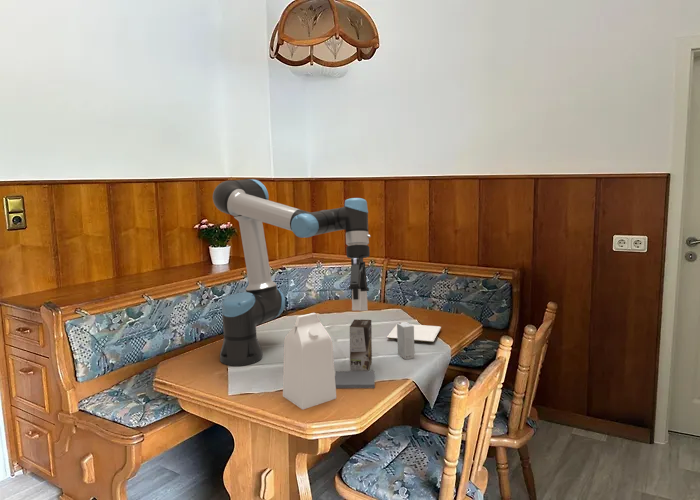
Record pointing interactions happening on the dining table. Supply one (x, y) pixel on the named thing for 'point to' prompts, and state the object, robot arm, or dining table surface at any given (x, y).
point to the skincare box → (405, 340)
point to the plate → (419, 333)
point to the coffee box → (360, 345)
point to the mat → (355, 379)
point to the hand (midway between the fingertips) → (360, 310)
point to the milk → (308, 363)
